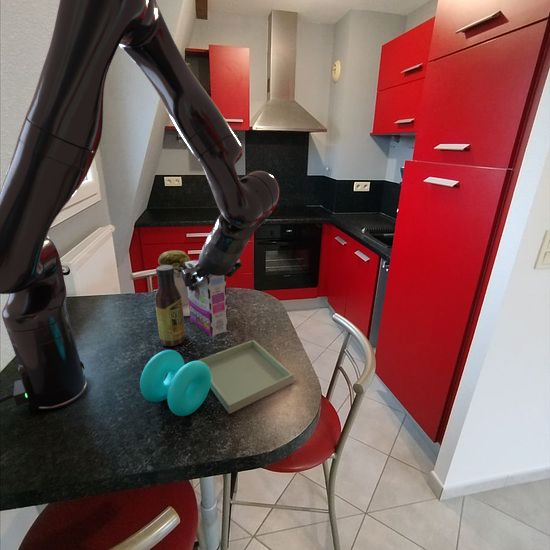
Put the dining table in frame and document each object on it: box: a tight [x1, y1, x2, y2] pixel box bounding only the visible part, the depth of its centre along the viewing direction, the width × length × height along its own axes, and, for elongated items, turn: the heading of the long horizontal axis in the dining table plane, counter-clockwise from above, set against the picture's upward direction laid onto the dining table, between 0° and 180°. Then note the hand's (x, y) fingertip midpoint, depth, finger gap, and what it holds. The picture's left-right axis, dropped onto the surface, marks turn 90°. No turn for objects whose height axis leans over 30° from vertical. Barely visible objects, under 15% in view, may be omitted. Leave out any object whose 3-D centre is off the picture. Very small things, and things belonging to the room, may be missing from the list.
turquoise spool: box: [139, 349, 211, 417], centre depth 61 cm, size 10×10×10 cm
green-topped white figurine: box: [157, 249, 191, 317], centre depth 95 cm, size 12×13×18 cm
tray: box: [196, 339, 295, 415], centre depth 70 cm, size 15×16×2 cm
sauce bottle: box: [154, 265, 186, 347], centre depth 79 cm, size 7×6×20 cm
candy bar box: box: [185, 258, 229, 338], centre depth 78 cm, size 11×5×16 cm, turn 41°
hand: (203, 284), depth 79 cm, fingers closed on candy bar box, 5 cm apart
